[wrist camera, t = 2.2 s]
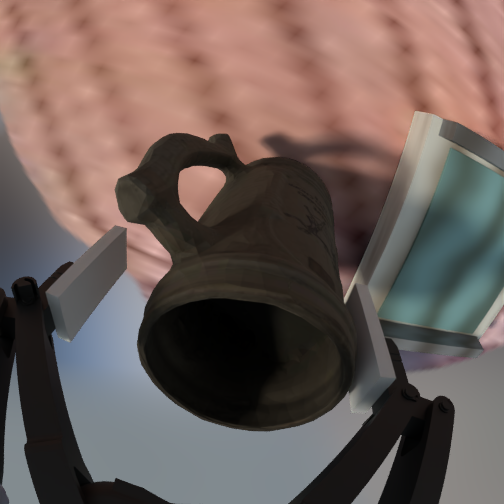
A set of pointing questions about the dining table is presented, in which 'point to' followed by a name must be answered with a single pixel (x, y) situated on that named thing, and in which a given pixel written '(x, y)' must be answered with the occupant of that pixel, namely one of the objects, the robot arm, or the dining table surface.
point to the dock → (439, 242)
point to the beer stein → (242, 289)
